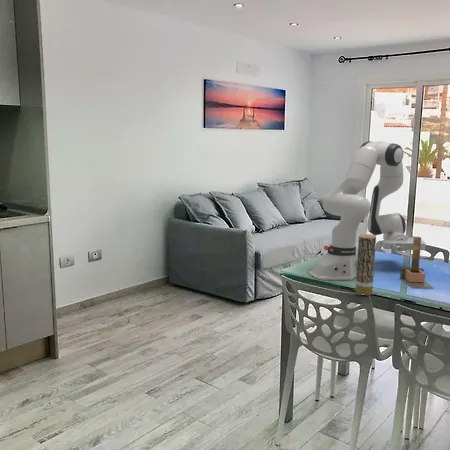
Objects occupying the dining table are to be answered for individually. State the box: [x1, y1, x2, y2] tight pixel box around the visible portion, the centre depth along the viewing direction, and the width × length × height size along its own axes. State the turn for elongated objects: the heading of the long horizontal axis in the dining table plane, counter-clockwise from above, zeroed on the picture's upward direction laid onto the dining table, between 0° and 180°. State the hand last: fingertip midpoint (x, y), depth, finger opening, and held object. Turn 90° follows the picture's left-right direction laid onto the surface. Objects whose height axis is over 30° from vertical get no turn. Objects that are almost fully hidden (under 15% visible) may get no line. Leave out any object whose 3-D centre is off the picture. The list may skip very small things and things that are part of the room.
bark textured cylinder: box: [355, 233, 377, 297], centre depth 209 cm, size 7×7×25 cm
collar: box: [405, 270, 426, 282], centre depth 231 cm, size 7×7×4 cm
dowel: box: [410, 236, 422, 273], centre depth 231 cm, size 3×3×20 cm
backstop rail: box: [399, 267, 434, 290], centre depth 229 cm, size 16×10×5 cm, turn 179°
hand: (408, 248), depth 241 cm, fingers open, 8 cm apart
